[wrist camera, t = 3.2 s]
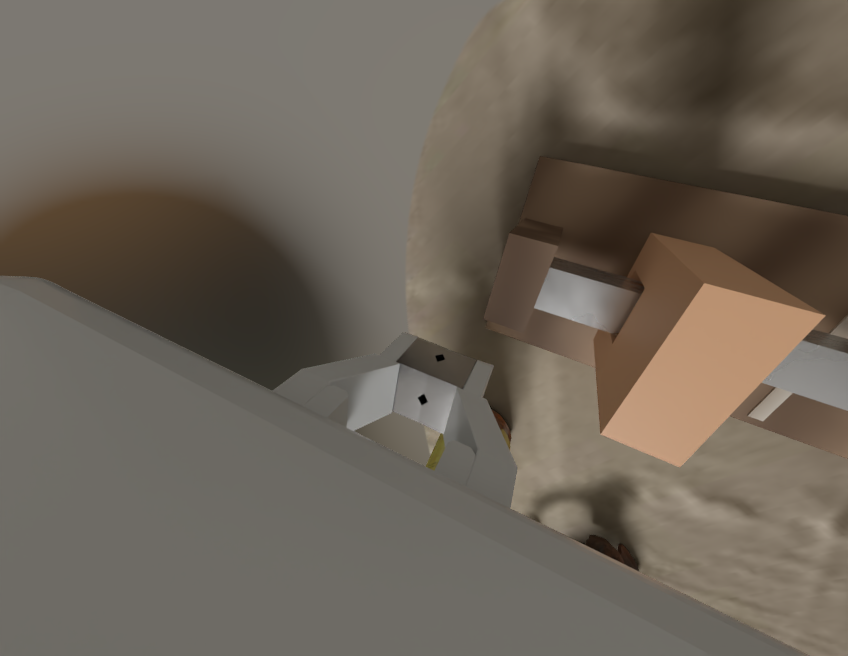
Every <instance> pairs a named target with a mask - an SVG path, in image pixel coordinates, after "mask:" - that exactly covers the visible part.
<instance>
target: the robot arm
mask: <svg viewBox="0 0 848 656" xmlns="http://www.w3.org/2000/svg"><path fill="white" fill-rule="evenodd" d="M493 368H494V366H493V365H492V364H489V363H486V362H483V361H480V360H476V359H473V358H471V357H468V356H465V355H462V354H459V353H457V352H454V351H451V350H448V349H447V348H444V347H442V346H439V345H437V344H434V343H432V342H429V341H427V340H424V339H422V338H419V337H417V336H414V335H412V334H409V333H406V332H405V333H402V334H401V335H400V336H399V337H398V338H397V339H396V340H395V341H393V342H392V343H391V345H389V346H388V347H387V348H386V349H385V351H383V352H382V353H381V354H380V355H377V354H371V355H367V356H362V357H357V358H352V359H347V360H343V361H338V362H333V363H329V364H324V365H320V366H314V367H310V368H305V369H301V370H300V371H299V372H298V373H296V374H295V375H294V376H292V377H291V378H289V379H288V380H287V381H285V382H284V383H282V384H281V385H280V386H279V387H277V388H276V389H274V390H273V391H271V390H269V389H267V388H265V387H263V386H260V385H259V384H257V383H254V382H253V381H251V380H249V379H246V378H244V377H242V376H240V375H238V374H236V373H234V372H232V371H230V370H228V369H226V368H224V367H222V366H220V365H218V364H216V363H214V362H212V361H210V360H208V359H206V358H203V357H202V356H199V355H198V354H196V353H194V352H192V351H190V350H188V349H185V348H183V347H181V346H179V345H177V344H175V343H173V342H171V341H169V340H167V339H165V338H163V337H161V336H159V335H157V334H155V333H153V332H151V331H149V330H147V329H145V328H143V327H141V326H139V325H137V324H135V323H132V322H131V321H129V320H127V319H124V318H123V317H121V316H119V315H117V314H115V313H113V312H110V311H108V310H106V309H104V308H102V307H100V306H98V305H96V304H94V303H92V302H90V301H88V300H86V299H84V298H82V297H80V296H78V295H76V294H74V293H72V292H70V291H68V290H66V289H64V288H62V287H60V286H58V285H56V284H55V283H52V282H50V281H47V280H44V279H41V278H35V277H19V276H0V656H810V655H808V654H805V653H803V652H801V651H799V650H797V649H795V648H793V647H791V646H789V645H787V644H785V643H783V642H781V641H779V640H777V639H775V638H773V637H771V636H769V635H767V634H765V633H763V632H761V631H759V630H757V629H755V628H753V627H751V626H749V625H747V624H745V623H742V622H740V621H738V620H736V619H734V618H732V617H730V616H728V615H726V614H724V613H722V612H720V611H718V610H716V609H714V608H712V607H710V606H708V605H706V604H704V603H702V602H700V601H698V600H696V599H694V598H692V597H690V596H688V595H686V594H684V593H682V592H680V591H677V590H675V589H673V588H671V587H669V586H667V585H665V584H663V583H661V582H659V581H657V580H655V579H653V578H651V577H649V576H647V575H645V574H643V573H641V572H639V571H637V570H635V569H633V568H631V567H629V566H627V565H625V564H623V563H621V562H619V561H617V560H614V559H612V558H610V557H608V556H606V555H604V554H602V553H600V552H598V551H596V550H594V549H592V548H590V547H588V546H586V545H584V544H582V543H580V542H578V541H576V540H574V539H572V538H570V537H568V536H566V535H564V534H561V533H559V532H557V531H555V530H553V529H551V528H549V527H547V526H545V525H543V524H541V523H539V522H537V521H535V520H533V519H531V518H529V517H527V516H525V515H523V514H521V513H518V512H516V511H514V510H512V509H510V507H511V501H512V496H513V490H514V485H515V479H516V474H517V465H516V463H515V461H514V459H513V457H512V454H511V452H510V450H509V448H508V446H507V443H506V441H505V439H504V437H503V434H502V432H501V430H500V428H499V426H498V423H497V421H496V419H495V417H494V415H493V412H492V410H491V408H490V406H489V404H488V401H487V399H485V398H483V396H484V393H485V390H486V387H487V385H488V382H489V379H490V376H491V373H492V371H493ZM392 411H393V412H395V413H398V414H400V415H403V416H405V417H407V418H410V419H412V420H414V421H417V422H419V423H421V424H423V425H425V426H427V427H429V428H431V429H433V430H435V431H437V432H439V433H441V434H443V438H444V444H445V450H444V452H443V454H442V456H441V458H440V460H439V462H438V464H437V466H436V468H435V470H432V469H430V468H427V467H425V466H423V465H421V464H419V463H417V462H415V461H413V460H411V459H409V458H407V457H405V456H403V455H401V454H399V453H397V452H395V451H393V450H391V449H389V448H387V447H385V446H383V445H381V444H379V443H377V442H375V441H373V440H371V439H368V438H367V437H364V436H362V435H360V434H358V433H356V432H354V430H356V429H358V428H361V427H363V426H365V425H367V424H369V423H371V422H373V421H375V420H377V419H380V418H382V417H384V416H386V415H388V414H390V413H392Z"/></svg>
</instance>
